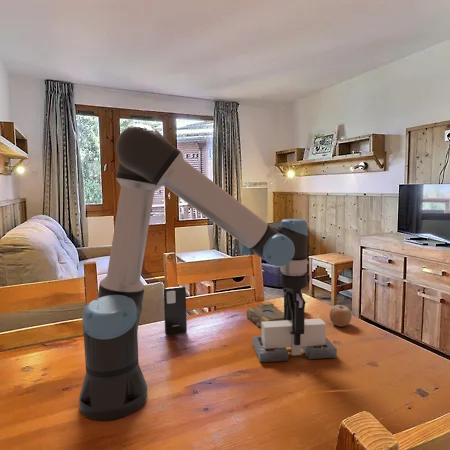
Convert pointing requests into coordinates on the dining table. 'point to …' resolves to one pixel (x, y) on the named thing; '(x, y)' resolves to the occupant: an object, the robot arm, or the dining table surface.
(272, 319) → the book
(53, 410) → the dining table surface
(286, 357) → the keyhole plates
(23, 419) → the dining table surface
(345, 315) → the fruit
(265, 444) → the dining table surface
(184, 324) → the smartphone
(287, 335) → the bar
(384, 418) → the dining table surface
